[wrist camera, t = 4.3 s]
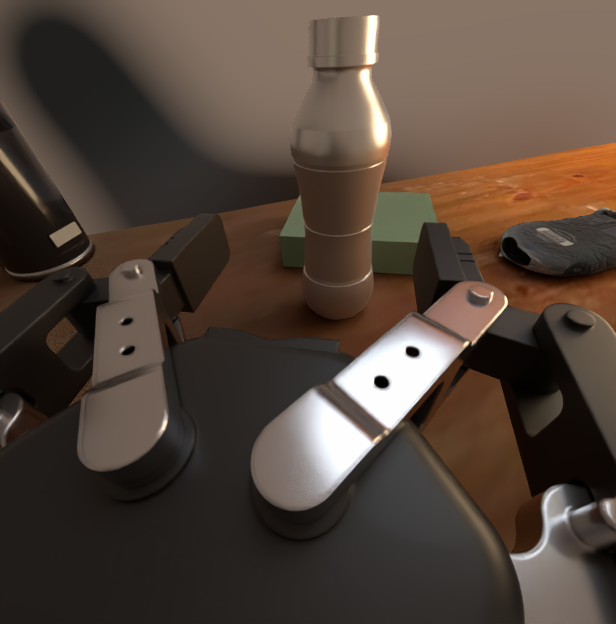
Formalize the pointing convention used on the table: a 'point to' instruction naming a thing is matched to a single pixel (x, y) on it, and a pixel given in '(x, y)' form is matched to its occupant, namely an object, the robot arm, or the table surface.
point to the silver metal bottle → (340, 163)
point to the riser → (373, 232)
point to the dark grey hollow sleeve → (564, 245)
